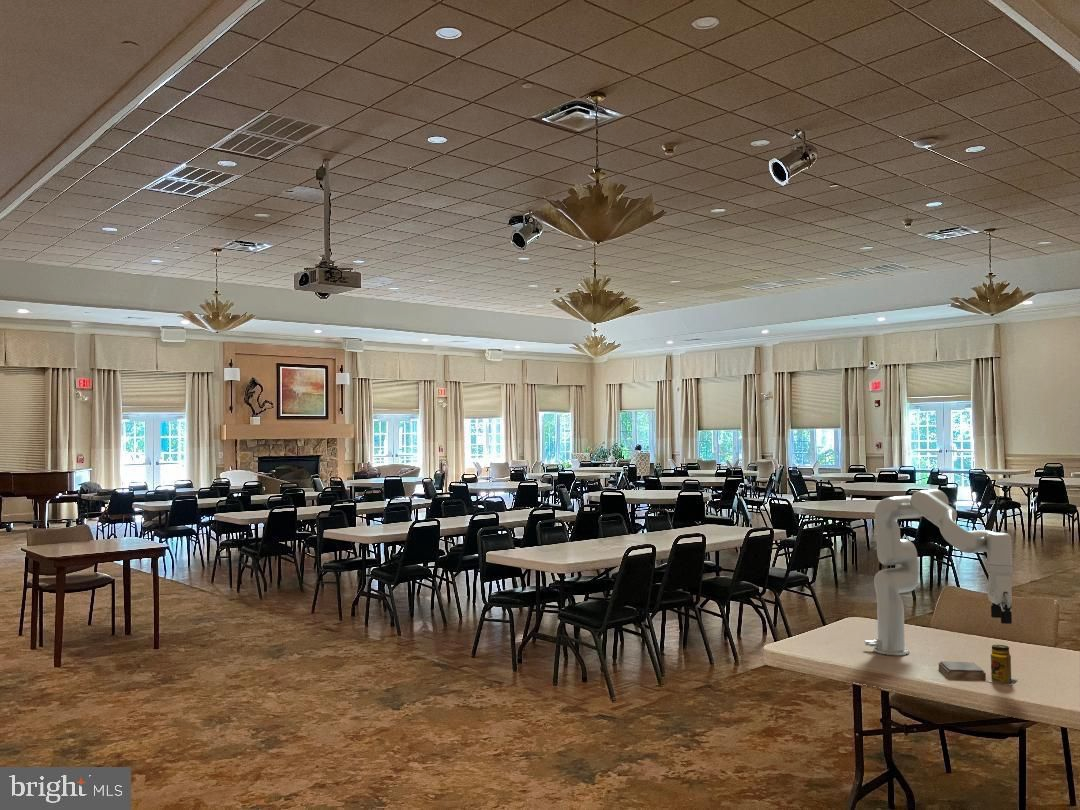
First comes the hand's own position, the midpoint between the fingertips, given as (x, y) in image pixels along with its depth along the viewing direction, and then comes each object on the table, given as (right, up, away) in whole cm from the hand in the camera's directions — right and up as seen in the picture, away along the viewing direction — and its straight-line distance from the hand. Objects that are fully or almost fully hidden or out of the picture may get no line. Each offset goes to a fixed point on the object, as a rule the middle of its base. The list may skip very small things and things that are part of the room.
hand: (1001, 620), depth 306 cm
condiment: (0, -21, -1) cm, 21 cm away
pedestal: (-10, -21, +8) cm, 24 cm away
